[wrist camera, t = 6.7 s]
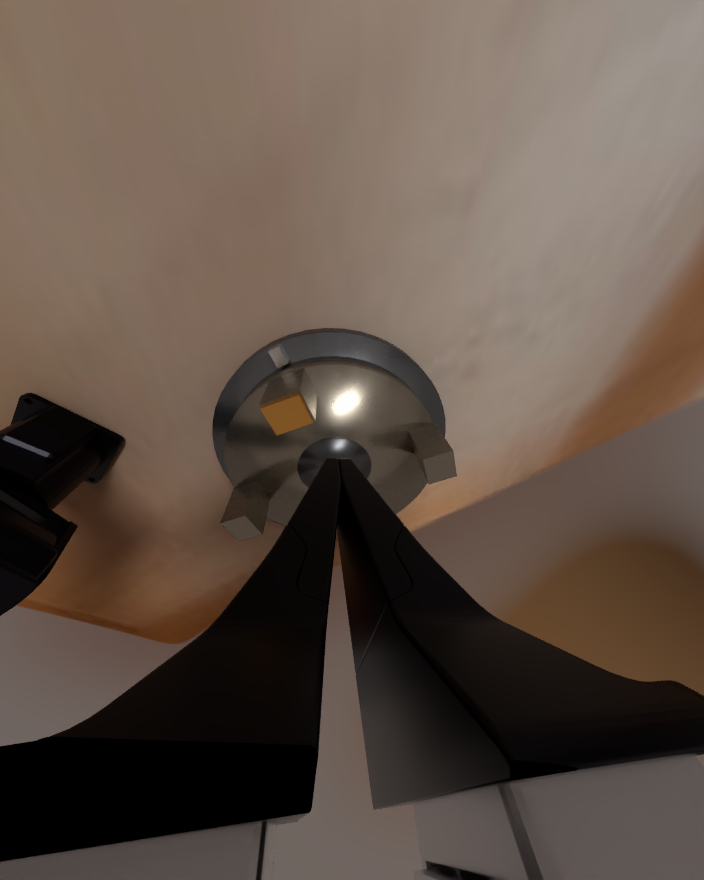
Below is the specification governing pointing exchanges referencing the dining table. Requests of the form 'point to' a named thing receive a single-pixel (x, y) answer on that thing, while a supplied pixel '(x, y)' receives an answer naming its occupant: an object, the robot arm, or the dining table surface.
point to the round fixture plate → (327, 439)
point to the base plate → (319, 346)
